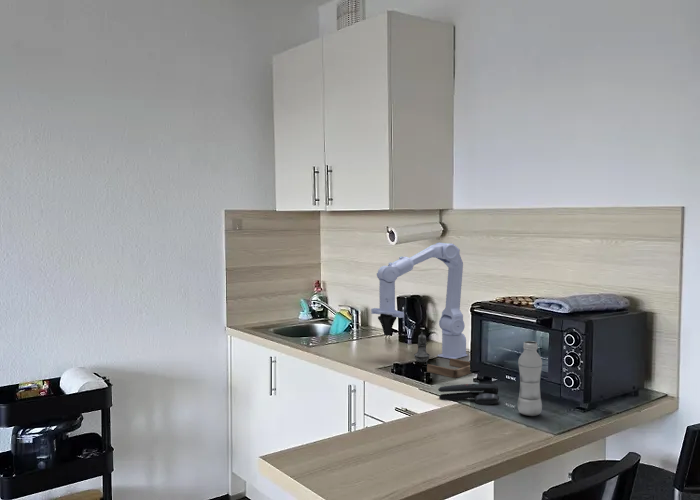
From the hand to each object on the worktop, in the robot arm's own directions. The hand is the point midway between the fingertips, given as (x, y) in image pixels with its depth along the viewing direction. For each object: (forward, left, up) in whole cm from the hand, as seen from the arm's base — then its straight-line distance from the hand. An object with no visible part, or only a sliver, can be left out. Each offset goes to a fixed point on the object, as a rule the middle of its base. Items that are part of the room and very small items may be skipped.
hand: (387, 335), depth 233 cm
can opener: (+18, +49, -11) cm, 53 cm away
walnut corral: (-6, +25, -10) cm, 28 cm away
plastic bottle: (+18, +68, -11) cm, 71 cm away
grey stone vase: (-6, +11, -11) cm, 17 cm away
